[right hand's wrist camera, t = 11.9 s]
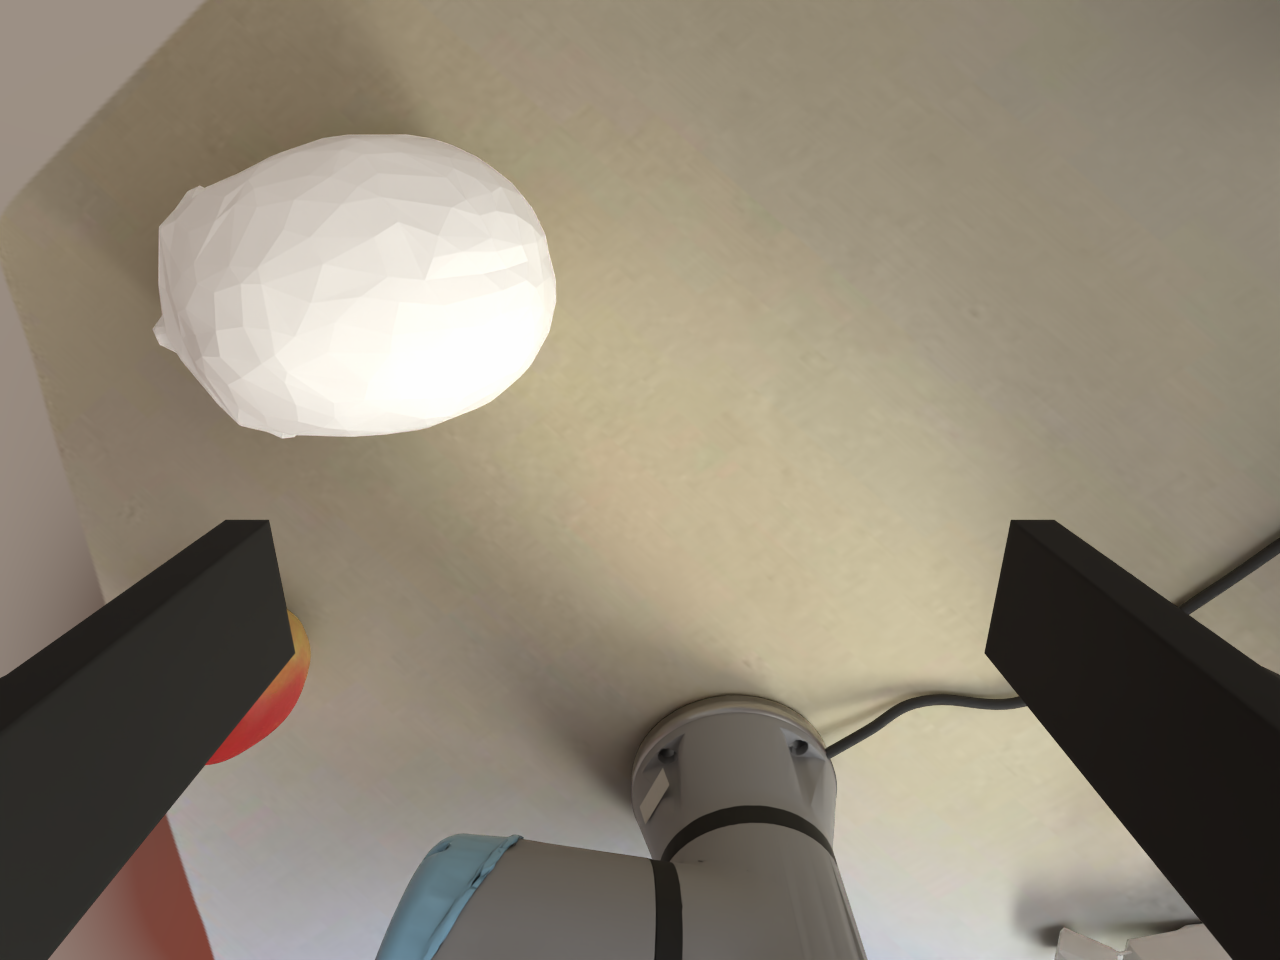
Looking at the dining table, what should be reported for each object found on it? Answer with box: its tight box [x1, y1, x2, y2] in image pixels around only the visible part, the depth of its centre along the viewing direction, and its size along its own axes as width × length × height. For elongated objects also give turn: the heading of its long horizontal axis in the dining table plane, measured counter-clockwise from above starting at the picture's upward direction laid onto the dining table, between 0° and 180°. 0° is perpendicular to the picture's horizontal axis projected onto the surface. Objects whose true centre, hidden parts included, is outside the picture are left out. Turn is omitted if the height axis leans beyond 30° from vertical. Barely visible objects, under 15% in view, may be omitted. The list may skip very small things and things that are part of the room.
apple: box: [205, 609, 310, 765], centre depth 44 cm, size 10×10×10 cm
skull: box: [153, 134, 556, 438], centre depth 34 cm, size 13×22×16 cm, turn 105°
